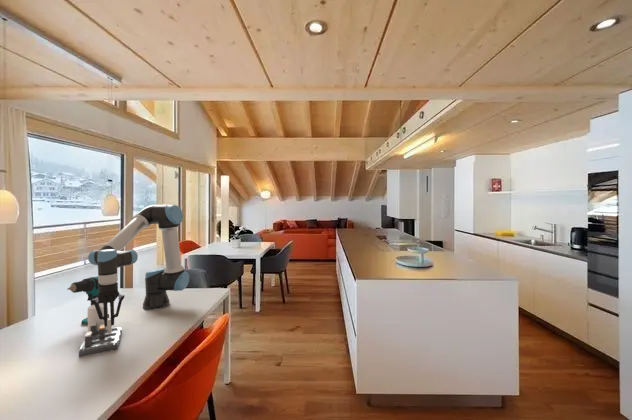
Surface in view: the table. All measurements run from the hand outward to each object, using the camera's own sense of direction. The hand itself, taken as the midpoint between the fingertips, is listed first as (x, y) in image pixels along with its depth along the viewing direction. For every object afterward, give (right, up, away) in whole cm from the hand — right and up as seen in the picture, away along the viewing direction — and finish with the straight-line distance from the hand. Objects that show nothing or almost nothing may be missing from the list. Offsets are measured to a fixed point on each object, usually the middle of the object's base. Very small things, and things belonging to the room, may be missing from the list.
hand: (109, 332), depth 144 cm
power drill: (-26, -5, +25) cm, 36 cm away
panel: (-3, -5, -1) cm, 6 cm away
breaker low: (-9, -2, +3) cm, 10 cm away
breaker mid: (-2, -2, -1) cm, 3 cm away
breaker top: (-3, -2, -9) cm, 10 cm away
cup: (-12, -5, +10) cm, 17 cm away
